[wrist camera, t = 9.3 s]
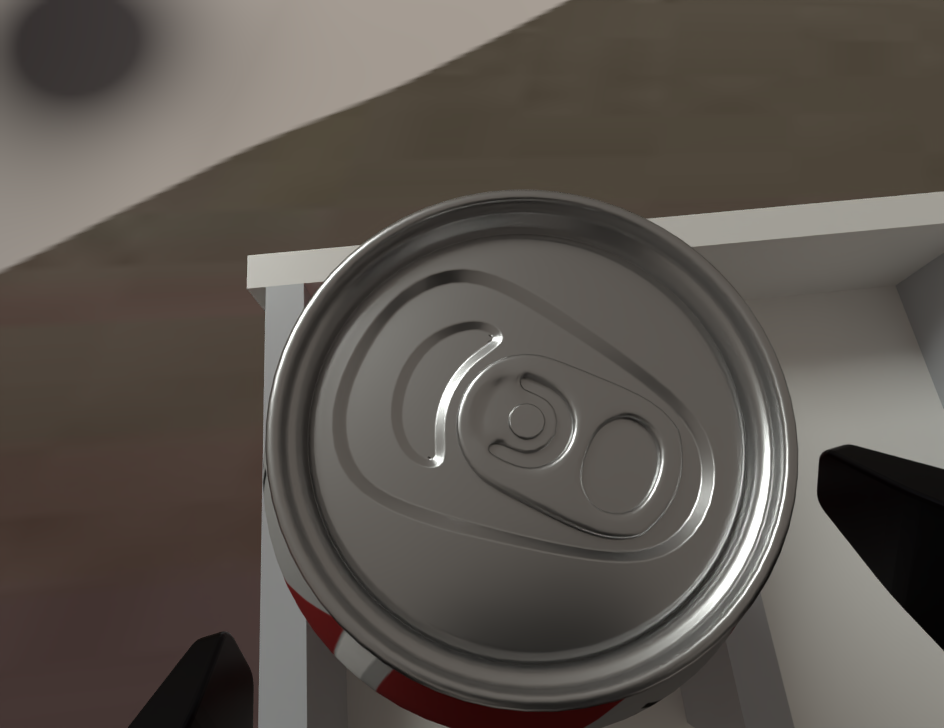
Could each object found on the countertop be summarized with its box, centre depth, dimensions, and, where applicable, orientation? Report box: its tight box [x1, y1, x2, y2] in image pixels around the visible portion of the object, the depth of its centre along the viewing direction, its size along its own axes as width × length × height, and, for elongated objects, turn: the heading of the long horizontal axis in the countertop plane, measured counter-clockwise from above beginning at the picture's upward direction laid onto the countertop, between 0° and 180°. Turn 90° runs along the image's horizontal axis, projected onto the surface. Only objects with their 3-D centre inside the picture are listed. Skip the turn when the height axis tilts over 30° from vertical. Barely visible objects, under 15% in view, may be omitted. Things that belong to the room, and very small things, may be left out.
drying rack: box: [247, 192, 944, 728], centre depth 16 cm, size 14×22×5 cm, turn 96°
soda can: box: [263, 190, 798, 728], centre depth 12 cm, size 7×7×12 cm
